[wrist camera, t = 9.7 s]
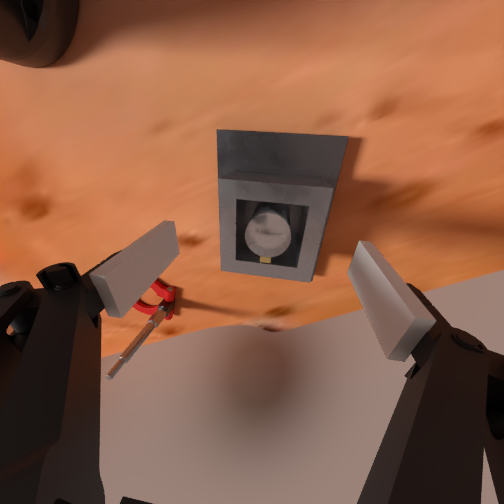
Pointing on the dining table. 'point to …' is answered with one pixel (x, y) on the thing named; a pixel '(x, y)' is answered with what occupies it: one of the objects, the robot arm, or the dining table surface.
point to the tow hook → (158, 315)
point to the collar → (278, 191)
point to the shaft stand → (282, 163)
